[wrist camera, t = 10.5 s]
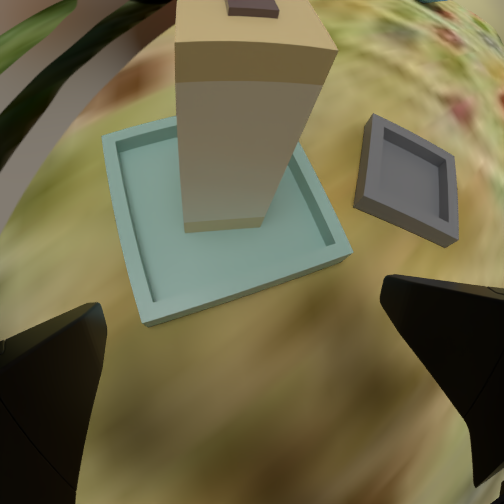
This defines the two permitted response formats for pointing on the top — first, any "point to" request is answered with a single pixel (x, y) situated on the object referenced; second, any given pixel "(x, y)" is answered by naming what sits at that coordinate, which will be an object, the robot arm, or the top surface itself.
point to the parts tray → (210, 242)
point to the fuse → (242, 102)
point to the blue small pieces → (427, 0)
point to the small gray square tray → (408, 182)
